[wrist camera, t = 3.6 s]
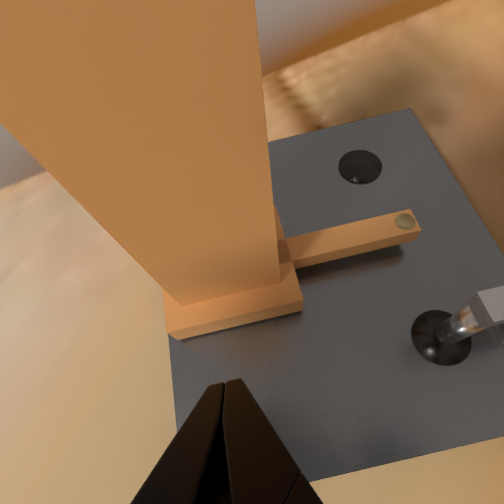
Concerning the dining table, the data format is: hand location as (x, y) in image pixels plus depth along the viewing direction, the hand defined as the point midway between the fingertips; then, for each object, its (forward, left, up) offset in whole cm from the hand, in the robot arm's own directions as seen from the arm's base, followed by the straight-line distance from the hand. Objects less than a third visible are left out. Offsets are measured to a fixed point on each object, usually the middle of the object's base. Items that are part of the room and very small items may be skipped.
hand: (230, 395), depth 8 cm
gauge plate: (+3, -7, -8) cm, 11 cm away
